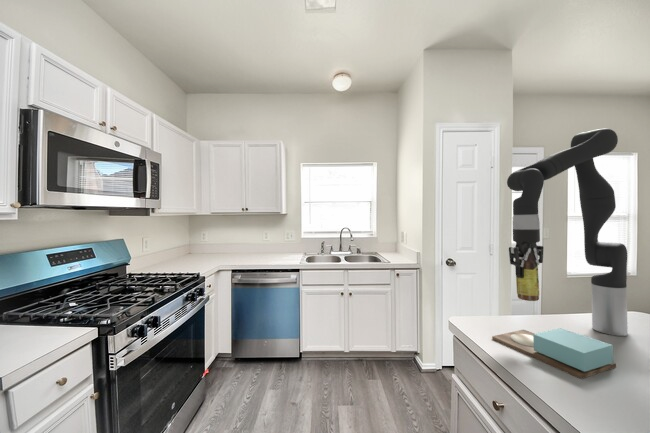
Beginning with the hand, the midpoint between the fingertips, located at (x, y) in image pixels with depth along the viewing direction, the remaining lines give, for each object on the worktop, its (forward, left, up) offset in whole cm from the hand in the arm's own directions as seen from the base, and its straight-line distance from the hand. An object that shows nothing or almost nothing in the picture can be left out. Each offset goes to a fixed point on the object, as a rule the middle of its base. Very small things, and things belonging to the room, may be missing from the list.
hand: (526, 276), depth 94 cm
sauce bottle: (0, 0, -8) cm, 8 cm away
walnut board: (0, +6, -23) cm, 24 cm away
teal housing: (0, +13, -21) cm, 25 cm away
